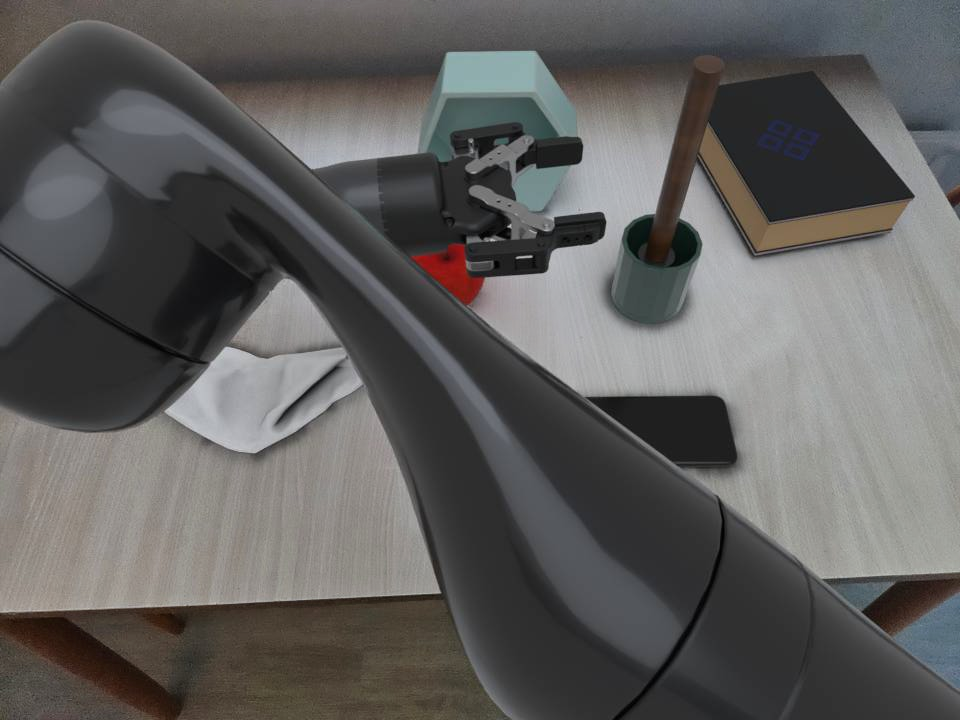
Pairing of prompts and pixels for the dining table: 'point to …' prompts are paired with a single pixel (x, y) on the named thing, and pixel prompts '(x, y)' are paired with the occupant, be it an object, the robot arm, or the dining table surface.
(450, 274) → the apple
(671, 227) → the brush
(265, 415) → the cloth
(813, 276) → the dining table surface
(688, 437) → the smartphone
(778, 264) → the dining table surface
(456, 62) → the planter
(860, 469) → the dining table surface
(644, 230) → the green faceted cup
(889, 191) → the book
